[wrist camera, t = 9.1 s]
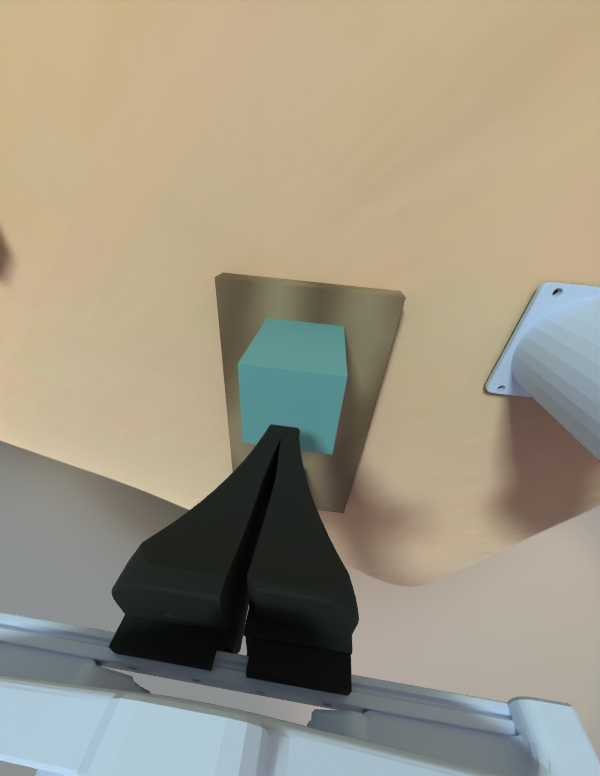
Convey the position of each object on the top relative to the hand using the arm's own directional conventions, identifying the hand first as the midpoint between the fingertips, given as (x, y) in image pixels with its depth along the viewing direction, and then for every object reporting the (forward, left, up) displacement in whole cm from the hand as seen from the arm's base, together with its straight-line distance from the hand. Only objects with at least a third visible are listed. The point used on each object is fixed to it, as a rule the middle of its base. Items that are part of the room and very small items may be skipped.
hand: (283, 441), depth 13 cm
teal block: (0, 0, -8) cm, 9 cm away
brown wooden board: (0, +7, -10) cm, 12 cm away
